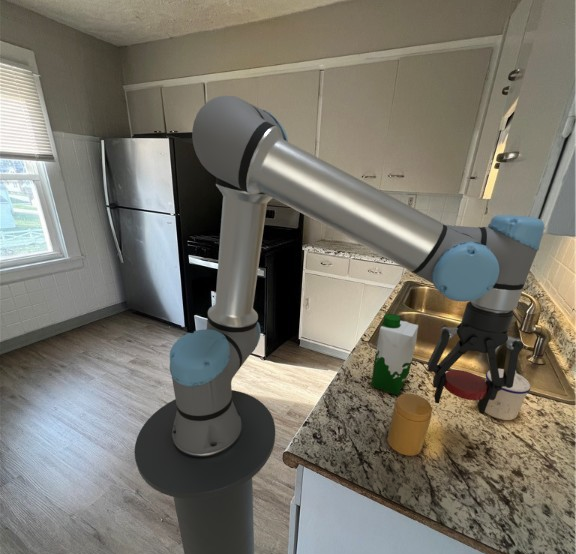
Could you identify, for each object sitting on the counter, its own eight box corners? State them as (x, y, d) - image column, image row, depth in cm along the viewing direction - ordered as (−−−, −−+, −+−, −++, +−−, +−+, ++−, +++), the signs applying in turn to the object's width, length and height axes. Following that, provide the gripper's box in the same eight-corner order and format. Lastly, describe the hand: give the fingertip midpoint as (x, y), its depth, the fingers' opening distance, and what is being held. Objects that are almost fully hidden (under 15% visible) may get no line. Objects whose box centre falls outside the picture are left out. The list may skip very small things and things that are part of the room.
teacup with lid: (504, 397, 83) (519, 360, 78) (526, 422, 75) (545, 382, 70) (458, 395, 83) (470, 358, 78) (475, 419, 75) (489, 379, 70)
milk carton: (376, 371, 92) (388, 309, 83) (408, 382, 88) (423, 317, 79) (367, 386, 85) (378, 320, 77) (400, 399, 81) (416, 330, 72)
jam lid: (443, 394, 63) (445, 386, 62) (441, 373, 69) (443, 366, 68) (488, 405, 60) (491, 397, 59) (481, 382, 67) (484, 374, 66)
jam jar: (385, 449, 66) (394, 410, 62) (388, 426, 72) (396, 389, 68) (422, 460, 64) (434, 420, 59) (421, 435, 70) (432, 397, 65)
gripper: (550, 307, 57) (509, 405, 67) (428, 290, 63) (407, 382, 73) (567, 323, 50) (519, 430, 60) (430, 303, 57) (406, 402, 67)
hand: (458, 404), depth 67 cm, fingers closed on jam lid, 8 cm apart
